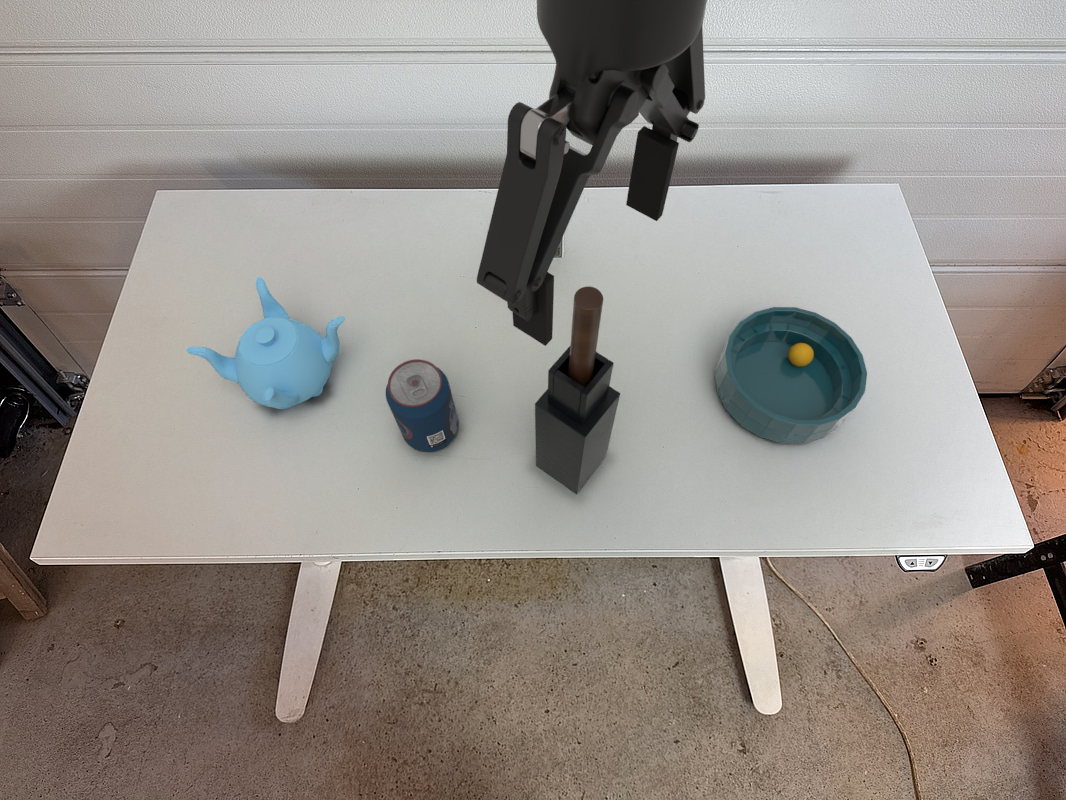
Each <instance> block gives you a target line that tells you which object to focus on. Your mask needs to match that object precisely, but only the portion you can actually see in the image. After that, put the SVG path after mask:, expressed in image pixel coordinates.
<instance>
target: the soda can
mask: <svg viewBox="0 0 1066 800" xmlns="http://www.w3.org/2000/svg"><path fill="white" fill-rule="evenodd" d="M385 400H386V403H387V405H388V408H389V409H390V412H391V413H392V416H393V418H394V421H395V423H396V424H397V427H398V429H399V431H400V433H401V437H402V438H403V440H404V441H405V443H406V444H407V445H408V446H410V447H411V448H412V449H414V450H415V451H418V452H421V453H422V452H423V453H433V452H437V451H441V450H443V449H445V448H446V447H448V446H449V445H450V444H451V443H452V442H453V441H454V439H455V438H456V436H457V435H458V431H459V426H460V421H459V416H458V413H457V408H456V406H455V405H456V404H455V401H454V398H453V393H452V390H451V386H450V382H449V380H448V377H447V376H446V374H445V373H444V371H443V370H442V369H440V368H439V367H437V366H436V365H435V364H434V363H432V362H430V361H428V360H425V359H419V358H418V359H417V358H416V359H415V358H414V359H409V360H405V361H404V362H402V363H400V364H398V365H397V366H396V367H395V368H394V369H393V370H392V371H391V373H390V374H389V377H388V379H387V384H386V387H385Z"/></svg>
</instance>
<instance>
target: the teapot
mask: <svg viewBox="0 0 1066 800" xmlns="http://www.w3.org/2000/svg"><path fill="white" fill-rule="evenodd" d="M255 287H256V290H257V294H258V296H259V301H260V305H261V309H262V315H263V319H260V320H258V321H256V322H254V323H253V324H251V325H249V327H247V328H246V330H244V332H243V334H242V335H241V337H240V338H239V341H238V342H237V343H238V344H237V347H236V350H235V355H234V357H231V356H225V355H222V354H221V353H218V352H217V351H216V350H213V349H211V348H208V347H206V346H199V345H196V346H195V345H194V346H189V347H187V348H186V349H185V352H186V353H188V355H189V354H190V355H193V356H196V357H200V358H202V359H204V360H206V361H207V362H208V363H209V365H210V366H211V367H212V368H213V370H214V371H215V372H216V373H217V374H218V375H219V376H220V377H221V378H223V379H224V380H227V381H230V382H233V383H236V384H239V387H240V388H241V390H242V391H243V392H244V394H245V395H246V396H247V397H248V398H249V399H250V400H252V402H254V403H256V404H259V405H261V406H264V407H267V408H268V407H269V408H273V409H276V410H287V409H290V408H292V407H294V406H297V405H299V404H302V403H304V402H306V401H308V400H309V399H311V398H316V397H318V396H320V395H321V394H322V393H323V391H324V386H325V385H326V384H327V381H328V380H329V378H330V375H331V372H332V369H333V361H334V360H335V359H336V358H337V356H338V355H339V353H340V348H341V344H340V343H341V342H340V338H339V335H338V329H339V327H340V326H341V325H342V324H343V323H344V322H345V320H346V317H345V316H337V317H335V318H333V319H331V320H330V321H329V322H328V324H327V325H326V327H325V332H326V336H324V337H323V336H322V334H320V333H319V332H318V331H317V330H316V329H315V328H313V327H312V326H310V325H309V324H307V323H304V322H303V321H300V320H297V319H292V318H290V316H289V313H288V312H287V310H286V309H285V308H284V306H282V304H281V303H280V302H278V300H277V299H275V297H274V296H273V295H272V293H271V292H270V290H269V289H268V285H267V283H266V281H265V280H264V278H263V277H262V276H258V277H256V279H255Z"/></svg>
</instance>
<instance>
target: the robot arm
mask: <svg viewBox="0 0 1066 800" xmlns="http://www.w3.org/2000/svg"><path fill="white" fill-rule="evenodd" d="M707 2H708V0H536V19H537V24H538V27H539V30H540V32H541V34H542V36H543V38H544V40H545V41H546V43H547V45H548V47H549V49H550V50H551V53H552V55H553V58H554V60H555V69H554V73H553V77H552V81H551V86H550V88H549V94H548V99H547V100H546V101H544V102H543V103H541V104H540V105H539V106H537V107H536V108H533V107H532V106H529V105H528V104H526V103H523V102H521V101H518V102H516V103H515V104H514V105H513V106H512V107H511V109H510V111H509V114H508V116H507V132H506V134H507V135H506V136H507V137H506V155H505V160H504V164H503V168H502V173H501V177H500V181H499V183H498V189H497V193H496V197H495V200H494V205H493V209H492V213H491V217H490V222H489V226H488V230H487V235H486V238H485V243H484V247H483V250H482V254H481V255H482V256H481V259H480V264H479V267H478V272H477V275H476V284H478V285H479V286H481V287H483V288H484V289H486V290H487V291H489V292H490V293H492V294H494V295H495V296H496V297H498V298H500V299H502V300H503V301H505V302H506V303H507V309H508V310H509V311H511V313H512V325H513V327H515V328H516V329H518V330H520V331H521V332H523V333H524V334H526V335H527V336H528V337H530V338H531V339H533V340H535V341H536V342H538V343H540V344H541V345H543V346H544V347H547V345H548V344H549V343H550V342H552V340H553V331H554V328H553V327H554V326H553V325H554V298H555V297H554V296H555V295H554V293H555V292H554V291H555V275H553V274H552V273H550V272H548V271H549V269H550V266H551V264H552V262H553V260H554V258H555V256H556V253H557V251H558V248H559V246H560V244H561V241H562V239H563V237H564V235H565V233H566V230H567V229H568V226H569V223H570V221H571V219H572V217H573V214H574V212H575V209H576V207H577V205H578V203H579V201H580V198H581V196H582V194H583V192H584V189H585V187H586V185H587V182H588V180H589V178H590V177H591V176H596V175H598V174H600V173H601V171H602V170H603V168H604V166H605V164H606V161H607V160H608V157H609V155H610V153H611V150H612V149H613V146H614V143H615V141H616V139H617V137H618V136H619V134H620V133H621V132H622V131H623V129H624V128H626V127H627V126H629V125H630V124H632V123H633V122H634V121H635V120H636V119H637V118H638V117H639V115H641V116H642V118H643V119H644V120H645V121H646V123H648V124H650V125H652V126H651V127H652V128H650V127H647V126H645V125H643V126H642V127H641V128H640V129H639V130H638V131H637V136H636V139H635V141H636V142H635V147H634V154H633V159H632V166H631V172H630V177H629V178H630V179H629V184H628V189H627V190H628V191H627V196H626V202H625V206H627V207H628V208H630V209H633V210H634V211H636V212H639V213H640V214H642V215H644V216H646V217H648V218H650V219H652V220H653V221H655V222H658V221H659V219H661V218H662V216H663V213H664V209H665V205H666V201H667V196H668V192H669V189H670V184H671V181H672V175H673V172H674V168H675V167H674V166H675V163H676V157H677V154H678V149H679V145H680V142H678V139H681V140H683V141H685V142H687V143H691V142H692V141H693V140H694V139H695V137H696V135H697V134H698V131H699V127H700V124H699V123H697V122H695V121H693V120H691V119H689V118H688V115H689V114H690V113H692V114H695V115H697V114H698V113H699V112H700V111H701V109H703V107H704V104H705V100H706V82H705V61H704V60H705V59H704V58H705V57H704V56H705V55H704V33H703V26H704V25H703V24H704V18H705V14H706V8H707V4H708V3H707ZM567 130H568V132H569V133H570V134H571V135H572V136H573V137H575V138H577V139H579V140H580V141H583V142H585V143H587V144H589V145H591V148H590V150H589V152H588V153H587V154H586V153H585V152H583V151H581V150H579V149H577V148H575V147H573V146H571V144H570V142H569V141H567V140H566V138H567Z"/></svg>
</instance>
